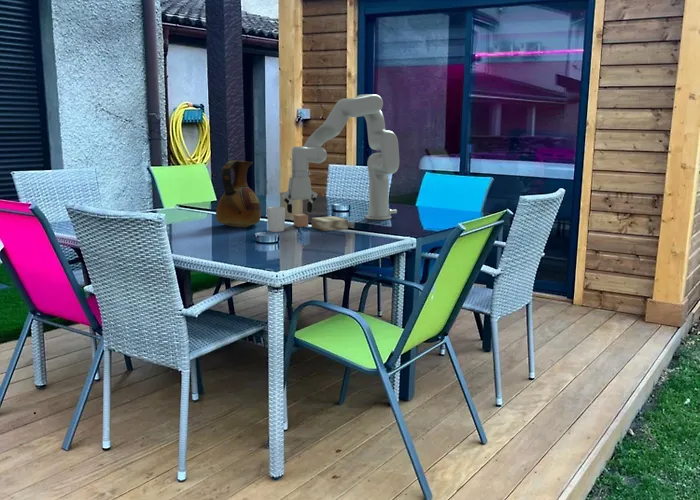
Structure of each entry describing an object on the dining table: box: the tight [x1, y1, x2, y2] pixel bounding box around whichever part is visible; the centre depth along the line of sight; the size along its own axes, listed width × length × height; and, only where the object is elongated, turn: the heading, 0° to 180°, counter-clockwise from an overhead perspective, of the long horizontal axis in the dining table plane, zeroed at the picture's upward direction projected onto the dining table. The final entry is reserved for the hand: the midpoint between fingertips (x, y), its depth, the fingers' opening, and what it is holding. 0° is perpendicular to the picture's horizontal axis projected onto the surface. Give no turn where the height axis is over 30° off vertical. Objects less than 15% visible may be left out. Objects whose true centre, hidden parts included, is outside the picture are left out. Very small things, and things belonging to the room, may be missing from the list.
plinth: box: [311, 215, 349, 232], centre depth 301 cm, size 12×12×4 cm
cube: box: [293, 213, 309, 228], centre depth 306 cm, size 5×5×5 cm
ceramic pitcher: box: [215, 159, 262, 228], centre depth 300 cm, size 20×20×30 cm
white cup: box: [266, 206, 286, 233], centre depth 293 cm, size 8×8×10 cm
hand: (299, 212), depth 305 cm, fingers open, 9 cm apart
